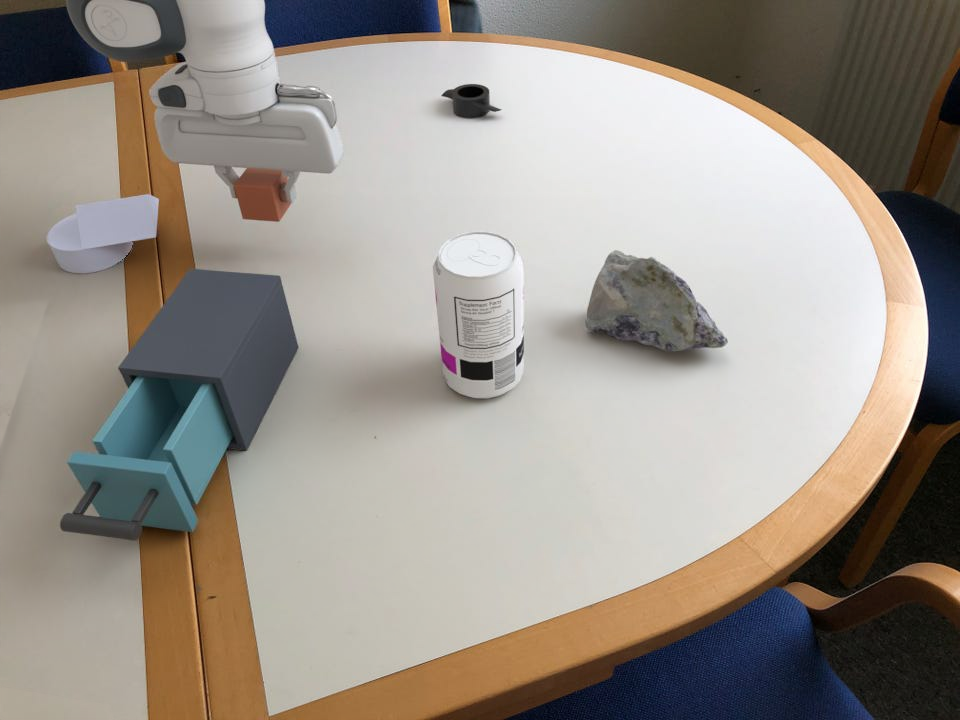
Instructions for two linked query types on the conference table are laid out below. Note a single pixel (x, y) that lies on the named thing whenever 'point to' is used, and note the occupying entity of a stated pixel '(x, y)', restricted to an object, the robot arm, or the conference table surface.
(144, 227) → the lavender piece
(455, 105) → the black finned ring
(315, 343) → the conference table surface
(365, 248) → the conference table surface
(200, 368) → the grey drawer cabinet
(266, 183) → the block
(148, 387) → the drawer
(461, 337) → the supplement can
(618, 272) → the mineral rock
